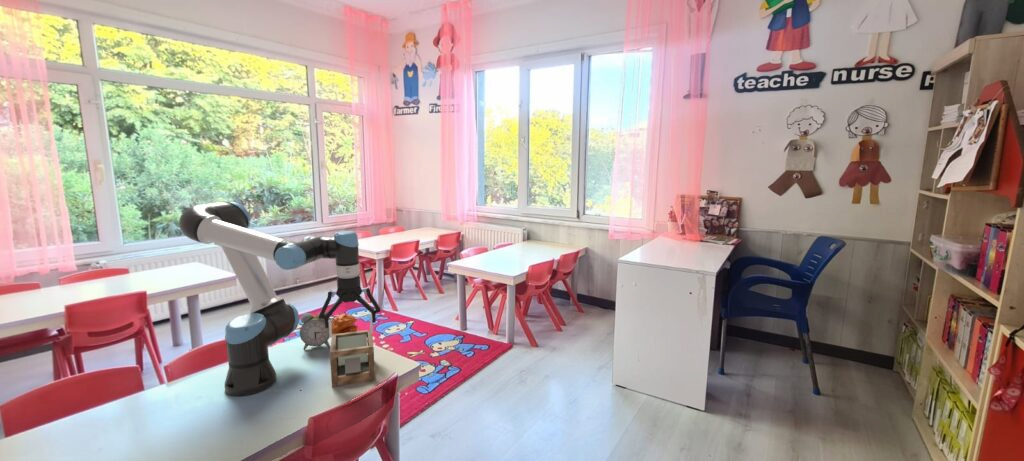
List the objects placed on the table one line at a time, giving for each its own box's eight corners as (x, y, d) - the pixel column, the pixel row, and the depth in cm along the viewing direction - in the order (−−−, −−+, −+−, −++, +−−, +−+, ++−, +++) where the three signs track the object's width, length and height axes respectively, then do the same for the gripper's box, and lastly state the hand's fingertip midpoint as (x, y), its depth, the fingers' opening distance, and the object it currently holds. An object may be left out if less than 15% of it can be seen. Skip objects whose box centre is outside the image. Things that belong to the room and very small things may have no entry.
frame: (331, 387, 145) (329, 352, 143) (334, 365, 160) (331, 334, 158) (375, 380, 150) (373, 346, 148) (373, 360, 165) (371, 329, 163)
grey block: (345, 363, 153) (344, 359, 148) (360, 361, 155) (360, 356, 150) (346, 377, 151) (345, 373, 146) (361, 375, 153) (360, 371, 148)
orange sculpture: (354, 363, 162) (351, 318, 159) (325, 362, 162) (322, 317, 159) (364, 350, 173) (362, 307, 170) (338, 349, 173) (335, 307, 170)
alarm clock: (300, 351, 171) (297, 316, 169) (304, 344, 178) (301, 310, 175) (331, 348, 174) (329, 313, 172) (334, 342, 181) (332, 308, 178)
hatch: (338, 366, 153) (337, 365, 152) (337, 337, 157) (337, 337, 157) (368, 361, 157) (368, 361, 156) (367, 334, 161) (366, 333, 160)
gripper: (307, 281, 141) (312, 342, 144) (386, 275, 149) (388, 333, 153) (309, 276, 148) (314, 334, 151) (384, 270, 156) (387, 325, 160)
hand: (351, 333), depth 152 cm, fingers open, 13 cm apart
